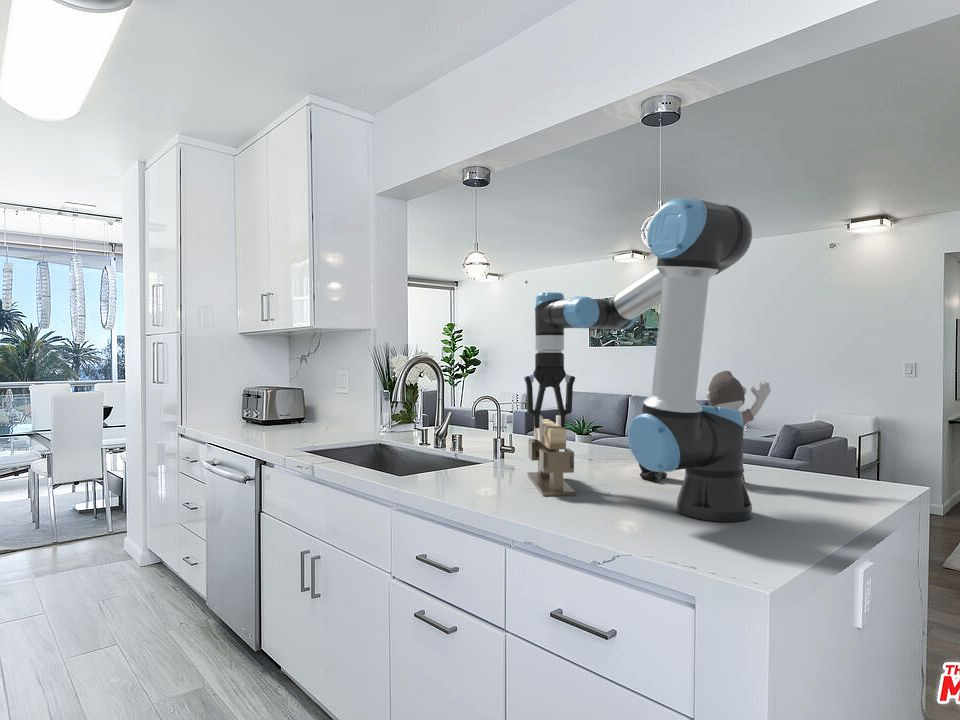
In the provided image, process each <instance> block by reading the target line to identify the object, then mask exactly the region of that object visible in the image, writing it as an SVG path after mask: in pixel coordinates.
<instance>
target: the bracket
mask: <svg viewBox="0 0 960 720" xmlns="http://www.w3.org/2000/svg"><path fill="white" fill-rule="evenodd" d="M528 458H529V460H531V461H537V472H535V471H534V472H526V473H527V474H526V475H527V478H528V479H529V480H530V482H531V483H532V484H533V485H534V487H535V488H536V489H537V490H538V492H539V493H540V495H541V496H542V497H563V496H565V497H569V496H570V497H571V496H573V497H574V496H576V491H575V490H574V488H573V487H571V486H570V484H569V483H567V482H566V480H564V474H565V473H566V474H567V473H569V474H571V473H575V452H574V451H573V450H572V449H570V448H567V447H566V449H564V451H560V449H553V450H550V449H549V448H547V447H546V446H545V445H544V444H542V443H541V442H540V441H538V440H537V439H536V438H528Z"/></svg>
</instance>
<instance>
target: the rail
mask: <svg viewBox="0 0 960 720" xmlns="http://www.w3.org/2000/svg"><path fill="white" fill-rule="evenodd" d="M533 437H534V438H533V439H537V440H538V428H535V427H534V426H533ZM538 441H539V440H538ZM540 442H541V443H542V444H544V445H545V446H546V447H547V448H549V449H550V450H553V449H559V450H565V449H566V448H567V428H565V427H564V428H563V427H561V426H559V425H558V424H556V422H554V421H552V420H551V419H548V418H546V419H545V418H544V419H543V441H540Z"/></svg>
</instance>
